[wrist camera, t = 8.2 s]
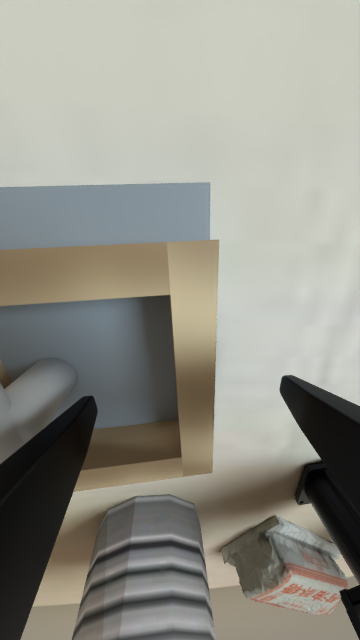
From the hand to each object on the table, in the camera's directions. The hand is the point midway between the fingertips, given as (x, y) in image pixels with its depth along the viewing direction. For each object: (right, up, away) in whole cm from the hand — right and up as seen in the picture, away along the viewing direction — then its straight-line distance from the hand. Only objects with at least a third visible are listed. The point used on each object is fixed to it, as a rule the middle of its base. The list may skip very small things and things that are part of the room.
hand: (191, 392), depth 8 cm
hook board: (-8, +1, +3) cm, 9 cm away
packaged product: (+15, -30, +17) cm, 37 cm away
